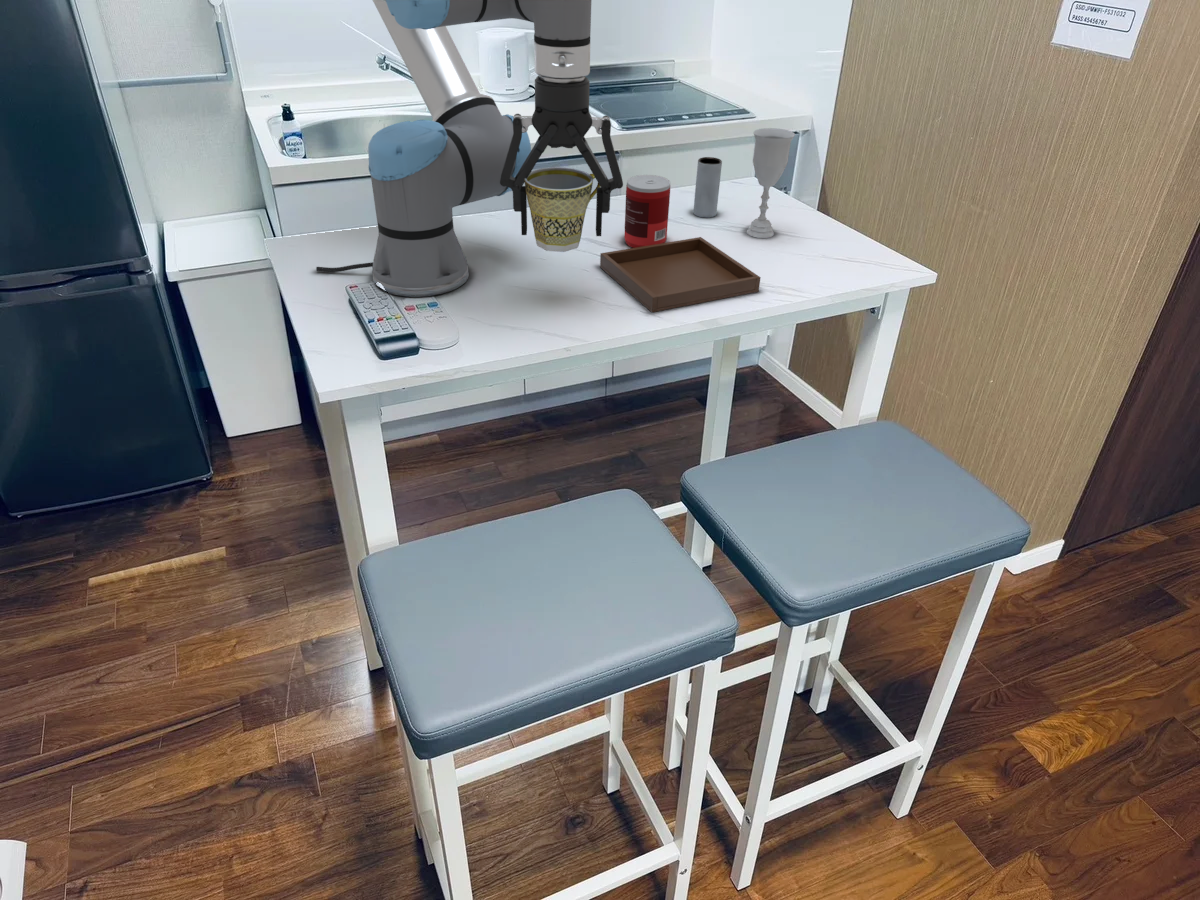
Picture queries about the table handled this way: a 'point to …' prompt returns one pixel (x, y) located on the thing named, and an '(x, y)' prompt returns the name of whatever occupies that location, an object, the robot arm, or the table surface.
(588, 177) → the ceramic cup
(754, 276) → the tray
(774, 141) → the chalice
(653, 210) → the canned food
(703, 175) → the gray cylinder
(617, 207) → the table surface
